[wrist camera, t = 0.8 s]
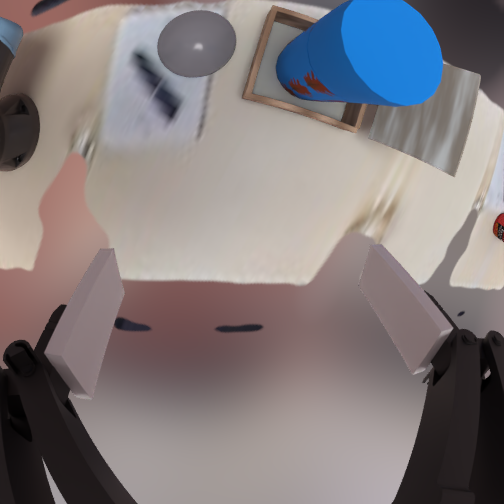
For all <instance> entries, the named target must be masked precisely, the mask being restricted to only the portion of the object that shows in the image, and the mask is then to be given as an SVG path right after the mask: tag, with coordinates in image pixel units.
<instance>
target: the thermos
mask: <svg viewBox="0 0 504 504" xmlns="http://www.w3.org/2000/svg"><path fill="white" fill-rule="evenodd" d="M442 70H443V61H442V55H441V49H440V46H439V43H438V41H437V38H436V36H435V34H434V32H433V30H432V28H431V27H430V26H429V24H428V23H427V22H426V20H425V19H424V18H423V17H422V16H421V14H420V13H419V12H417V11H416V10H415V9H414V8H412V7H411V6H410V5H408V4H407V3H406V2H404V1H402V0H349V1H347V2H345V3H343V4H341V5H340V6H338V7H337V8H335V9H334V10H332V11H331V12H329V13H328V14H327V15H325V16H324V17H322V18H321V19H320V20H318V21H317V22H316V23H314V24H313V25H312V26H310V27H309V28H308V29H306V30H305V31H304V32H303V33H301V34H300V35H299V36H297V37H296V38H295V39H294V40H293V41H291V42H290V43H289V44H288V45H287V46H286V47H285V49H284V50H283V51H282V53H281V54H280V55H279V57H278V60H277V65H276V71H277V77H278V79H279V81H280V83H281V84H282V86H283V88H285V89H286V90H287V91H288V92H289V93H290V94H291V95H293V96H296V97H298V98H300V99H304V100H311V101H321V102H348V103H363V104H374V105H384V106H392V107H400V106H409V105H415V104H421V103H423V102H424V101H426V100H427V99H428V98H430V97H431V96H433V95H434V93H435V91H436V89H437V88H438V86H439V84H440V82H441V77H442Z"/></svg>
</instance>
